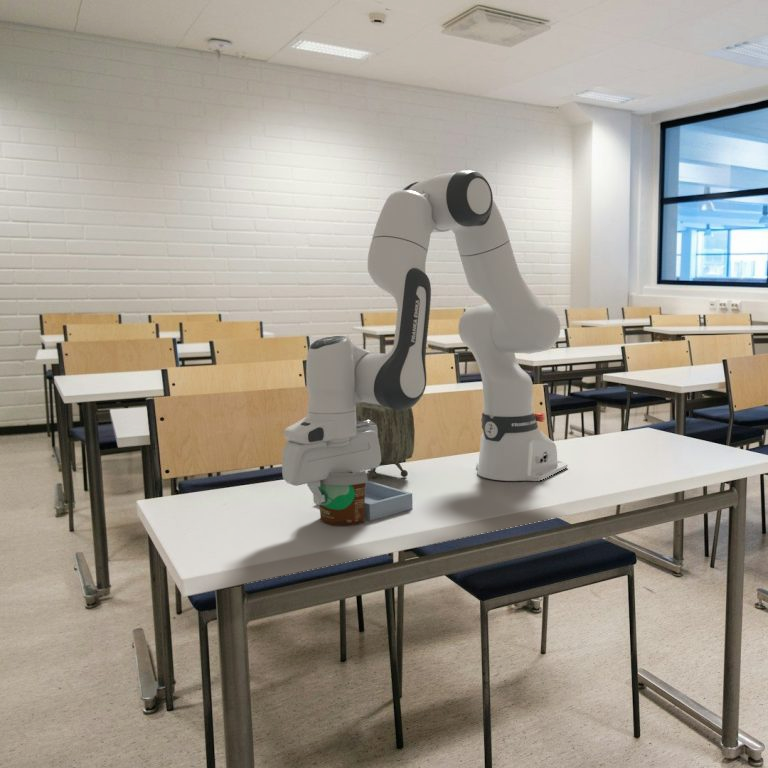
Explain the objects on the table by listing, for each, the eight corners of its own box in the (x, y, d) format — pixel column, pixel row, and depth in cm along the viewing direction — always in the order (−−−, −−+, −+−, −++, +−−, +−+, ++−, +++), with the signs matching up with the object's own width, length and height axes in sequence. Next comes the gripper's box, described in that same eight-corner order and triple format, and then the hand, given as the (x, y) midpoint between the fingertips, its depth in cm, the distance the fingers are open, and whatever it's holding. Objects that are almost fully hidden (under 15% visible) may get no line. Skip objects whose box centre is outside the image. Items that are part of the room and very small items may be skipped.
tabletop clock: (415, 477, 160) (413, 368, 157) (388, 485, 153) (385, 372, 150) (371, 467, 170) (368, 366, 167) (344, 475, 163) (340, 369, 160)
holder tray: (360, 492, 148) (359, 478, 148) (412, 508, 135) (412, 493, 135) (319, 502, 141) (318, 487, 141) (370, 520, 129) (369, 504, 128)
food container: (300, 518, 131) (298, 467, 130) (325, 511, 135) (324, 461, 134) (343, 533, 122) (341, 477, 121) (369, 524, 127) (367, 471, 125)
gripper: (366, 416, 136) (368, 485, 137) (275, 431, 123) (279, 507, 125) (387, 420, 131) (389, 491, 133) (295, 436, 118) (298, 515, 120)
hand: (335, 499), depth 128 cm, fingers closed on food container, 6 cm apart
